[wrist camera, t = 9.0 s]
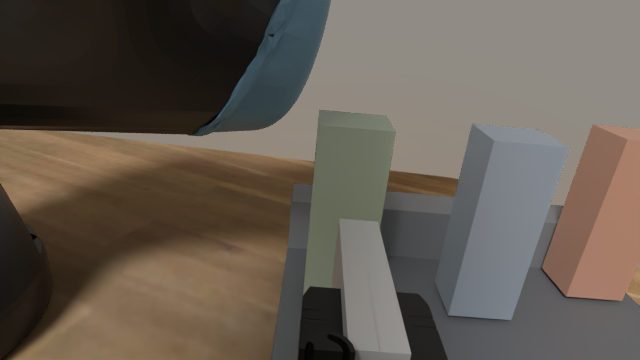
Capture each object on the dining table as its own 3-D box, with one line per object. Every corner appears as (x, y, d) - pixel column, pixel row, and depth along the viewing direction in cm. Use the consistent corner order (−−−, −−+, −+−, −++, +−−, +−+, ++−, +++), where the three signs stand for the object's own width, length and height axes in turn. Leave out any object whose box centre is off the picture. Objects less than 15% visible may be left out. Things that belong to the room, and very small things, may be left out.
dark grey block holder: (266, 409, 18) (271, 320, 16) (289, 243, 31) (294, 183, 29) (744, 442, 19) (803, 361, 17) (573, 266, 32) (595, 208, 30)
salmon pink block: (566, 296, 25) (628, 139, 21) (541, 267, 28) (592, 124, 24) (621, 300, 25) (693, 145, 21) (592, 271, 28) (651, 129, 24)
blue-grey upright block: (448, 315, 22) (494, 140, 19) (434, 281, 25) (472, 123, 21) (511, 320, 22) (569, 147, 19) (490, 286, 25) (538, 129, 21)
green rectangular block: (302, 304, 22) (318, 124, 18) (304, 271, 25) (319, 109, 21) (366, 308, 22) (395, 131, 18) (361, 275, 25) (386, 115, 21)
